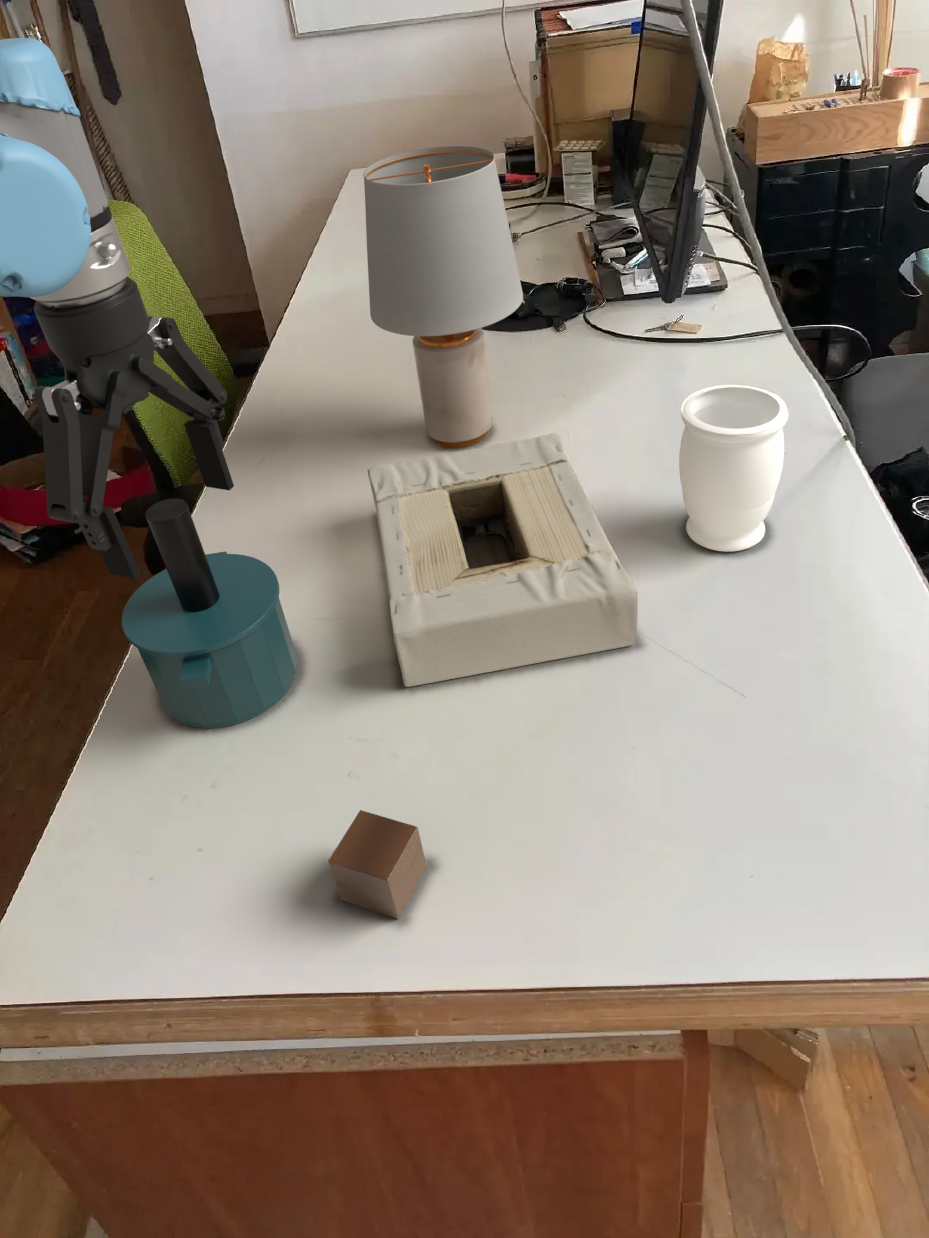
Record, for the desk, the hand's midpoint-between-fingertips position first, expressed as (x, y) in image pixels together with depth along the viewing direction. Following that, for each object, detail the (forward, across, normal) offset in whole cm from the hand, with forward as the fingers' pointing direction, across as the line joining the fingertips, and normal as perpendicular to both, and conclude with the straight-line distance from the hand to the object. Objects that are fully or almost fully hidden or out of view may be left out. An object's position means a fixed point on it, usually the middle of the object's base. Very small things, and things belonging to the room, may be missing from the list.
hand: (175, 528), depth 81 cm
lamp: (+19, +51, -3) cm, 54 cm away
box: (+18, +23, -19) cm, 35 cm away
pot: (+18, 0, 0) cm, 18 cm away
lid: (+9, 0, 0) cm, 9 cm away
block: (+18, -16, -26) cm, 36 cm away
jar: (+19, +37, -41) cm, 58 cm away
